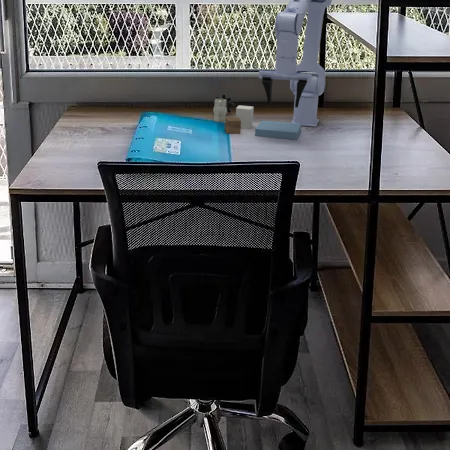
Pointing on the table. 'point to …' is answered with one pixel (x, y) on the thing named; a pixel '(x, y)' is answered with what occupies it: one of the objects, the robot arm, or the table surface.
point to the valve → (221, 108)
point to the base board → (278, 129)
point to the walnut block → (232, 125)
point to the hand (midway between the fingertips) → (283, 105)
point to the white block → (245, 116)
